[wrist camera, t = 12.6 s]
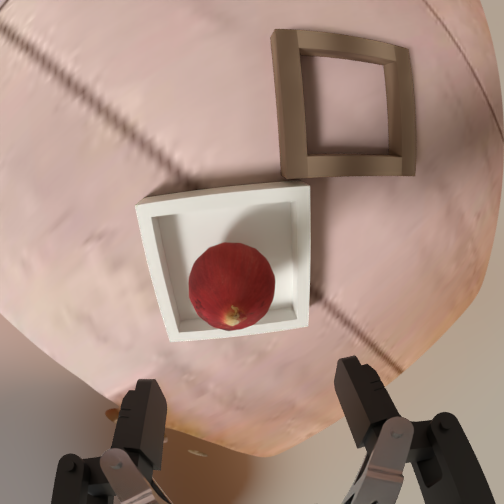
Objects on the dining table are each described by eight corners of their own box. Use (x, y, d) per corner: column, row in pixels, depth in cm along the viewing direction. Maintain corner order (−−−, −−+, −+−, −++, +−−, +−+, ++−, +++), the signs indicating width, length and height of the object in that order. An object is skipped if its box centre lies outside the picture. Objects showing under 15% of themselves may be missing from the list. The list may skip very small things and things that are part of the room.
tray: (300, 180, 21) (310, 185, 18) (301, 310, 26) (308, 326, 23) (144, 197, 20) (135, 205, 18) (173, 325, 25) (170, 342, 23)
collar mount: (395, 53, 17) (408, 49, 15) (401, 172, 21) (415, 176, 19) (270, 37, 16) (275, 29, 14) (281, 175, 20) (287, 179, 19)
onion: (250, 302, 24) (259, 371, 16) (185, 280, 22) (168, 346, 15) (279, 243, 22) (304, 298, 14) (209, 216, 20) (198, 262, 13)
